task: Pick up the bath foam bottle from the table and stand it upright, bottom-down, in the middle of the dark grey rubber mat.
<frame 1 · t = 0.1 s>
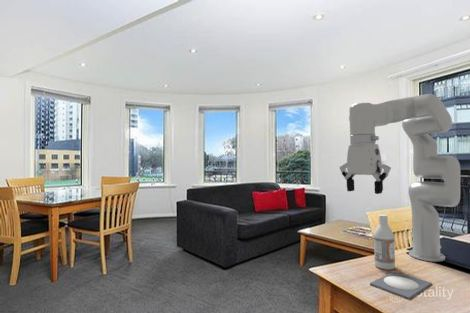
hand: (364, 192, 92), 31 cm above the table, tool pointing down, fingers open, 9 cm apart
rubber mat: (400, 284, 92), on the table
bath foam: (384, 267, 107), on the table
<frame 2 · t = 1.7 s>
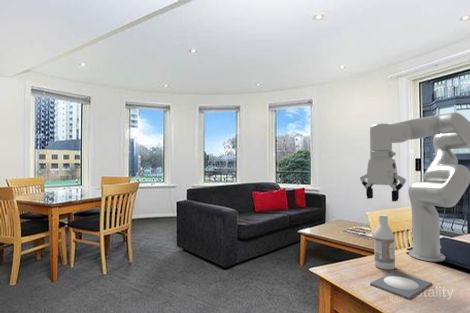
hand: (382, 199, 107), 26 cm above the table, tool pointing down, fingers open, 9 cm apart
nothing on the table moved.
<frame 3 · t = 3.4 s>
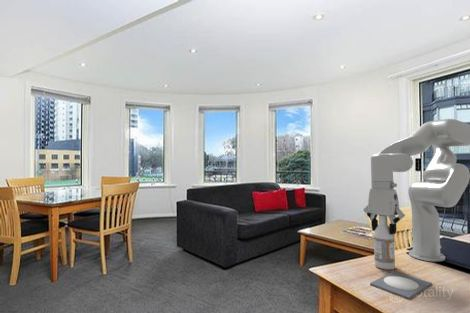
hand: (383, 231, 107), 14 cm above the table, tool pointing down, fingers closed on bath foam, 6 cm apart
bath foam: (384, 267, 107), on the table, touching gripper
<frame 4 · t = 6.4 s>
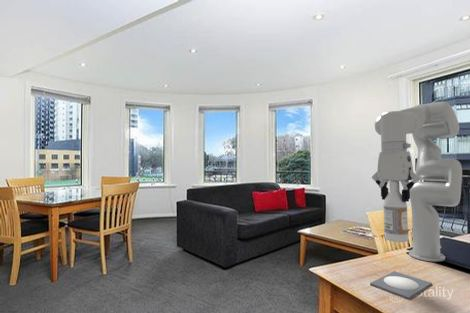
hand: (395, 199, 94), 28 cm above the table, tool pointing down, fingers closed on bath foam, 6 cm apart
bath foam: (396, 240, 94), point 14 cm above the table, touching gripper
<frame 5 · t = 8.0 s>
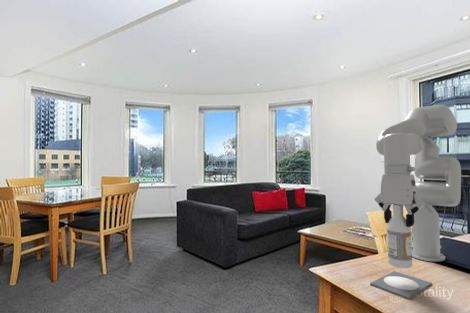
hand: (398, 223, 92), 20 cm above the table, tool pointing down, fingers closed on bath foam, 6 cm apart
bath foam: (400, 265, 92), point 6 cm above the table, touching gripper
when the fingers open (15 cm above the table, at t = 9.4 s): bath foam drops 1 cm, resting on rubber mat.
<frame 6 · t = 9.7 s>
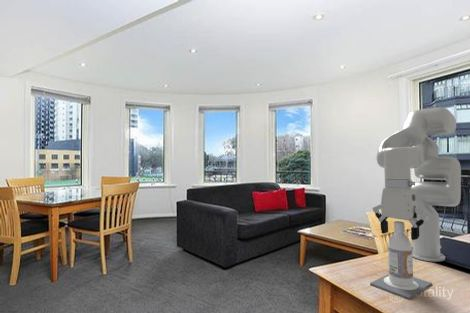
hand: (399, 235, 92), 16 cm above the table, tool pointing down, fingers open, 9 cm apart
bath foam: (400, 282, 92), point 1 cm above the table, touching rubber mat
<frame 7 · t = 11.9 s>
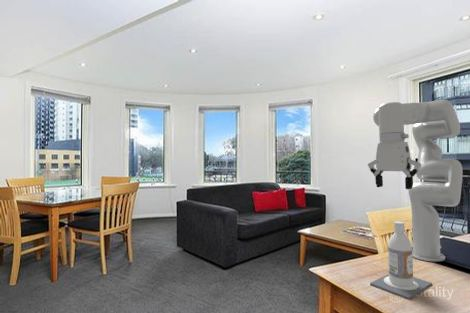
hand: (393, 187, 96), 32 cm above the table, tool pointing down, fingers open, 9 cm apart
nothing on the table moved.
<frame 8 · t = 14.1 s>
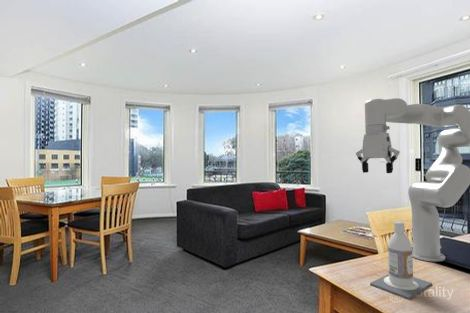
hand: (377, 172, 111), 36 cm above the table, tool pointing down, fingers open, 9 cm apart
nothing on the table moved.
at the end: bath foam 0.2 cm off-centre on the rubber mat, point 0.5 cm above the rubber mat's base; bath foam tilted 0°; the gripper is holding nothing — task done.
